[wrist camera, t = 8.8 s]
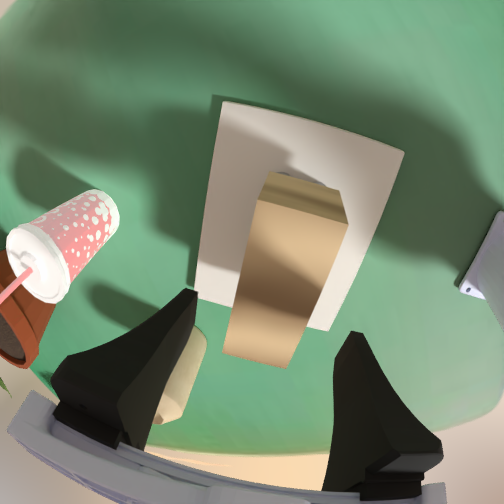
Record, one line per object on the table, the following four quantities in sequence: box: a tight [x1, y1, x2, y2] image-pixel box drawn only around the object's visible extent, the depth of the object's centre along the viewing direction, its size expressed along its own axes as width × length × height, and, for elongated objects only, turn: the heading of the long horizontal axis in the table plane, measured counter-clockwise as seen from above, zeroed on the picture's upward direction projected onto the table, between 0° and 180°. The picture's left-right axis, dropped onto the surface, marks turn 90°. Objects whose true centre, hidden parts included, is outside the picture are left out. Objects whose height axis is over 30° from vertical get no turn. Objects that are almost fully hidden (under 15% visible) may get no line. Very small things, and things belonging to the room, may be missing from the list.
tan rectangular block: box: [222, 171, 349, 369], centre depth 17 cm, size 10×4×4 cm, turn 168°
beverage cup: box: [0, 189, 119, 304], centre depth 19 cm, size 6×6×14 cm
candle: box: [152, 326, 207, 424], centre depth 26 cm, size 6×6×10 cm
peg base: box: [194, 101, 405, 331], centre depth 21 cm, size 12×16×4 cm
